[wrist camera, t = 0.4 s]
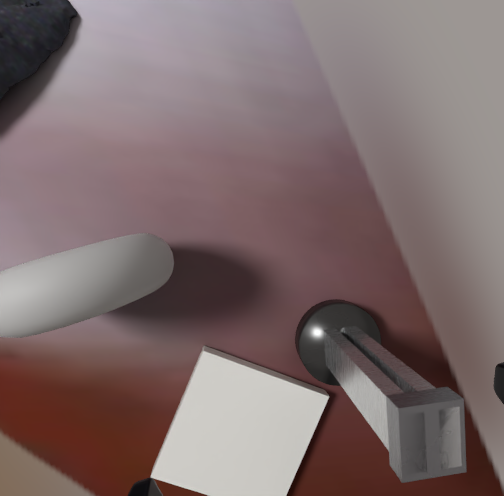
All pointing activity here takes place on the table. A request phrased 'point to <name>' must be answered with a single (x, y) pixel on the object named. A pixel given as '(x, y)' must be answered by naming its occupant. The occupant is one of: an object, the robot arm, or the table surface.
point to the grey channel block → (385, 391)
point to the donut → (81, 283)
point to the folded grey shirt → (29, 36)
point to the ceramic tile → (239, 429)
